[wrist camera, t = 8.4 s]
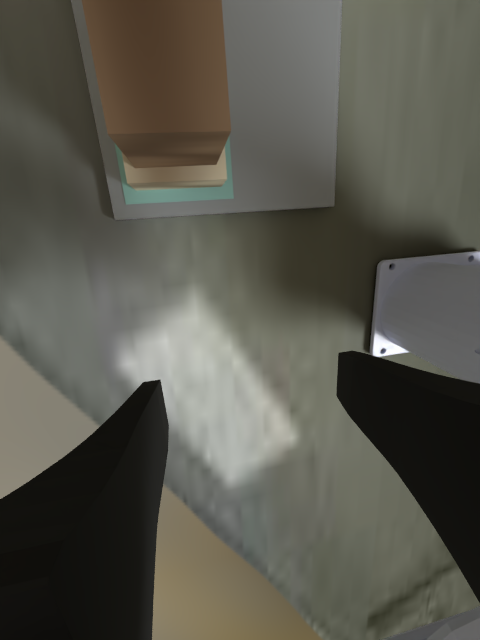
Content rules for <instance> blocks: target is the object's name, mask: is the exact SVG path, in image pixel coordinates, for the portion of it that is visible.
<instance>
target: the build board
mask: <svg viewBox="0 0 480 640" xmlns="http://www.w3.org/2000/svg"><path fill="white" fill-rule="evenodd" d="M71 3H72V8H73V13H74V18H75V23H76V28H77V33H78V38H79V43H80V48H81V53H82V58H83V63H84V68H85V73H86V78H87V83H88V88H89V93H90V98H91V103H92V108H93V113H94V118H95V123H96V128H97V133H98V138H99V143H100V148H101V153H102V158H103V163H104V169H105V174H106V179H107V184H108V189H109V194H110V199H111V204H112V209H113V214H114V219H115V220H133V219H149V218H165V217H180V216H196V215H212V214H228V213H244V212H260V211H276V210H291V209H307V208H323V207H332V206H334V204H335V177H336V150H337V123H338V97H339V70H340V43H341V17H342V0H222V11H223V25H224V39H225V53H226V66H227V80H228V94H229V108H230V121H231V133H230V135H229V137H228V140H227V142H226V144H225V156H226V170H227V180H226V181H225V183H224V184H223V185H222V187H202V188H181V189H160V190H139V191H136V190H135V189H133V188H132V187H131V186H130V185H129V184H127V179H126V173H125V168H124V162H123V157H122V151H121V150H120V149H119V148H118V146H117V145H116V144H115V143H114V141H113V140H112V139H111V138H110V136H109V135H108V133H107V128H106V123H105V117H104V112H103V107H102V102H101V97H100V92H99V87H98V82H97V77H96V71H95V66H94V61H93V56H92V51H91V46H90V41H89V36H88V31H87V25H86V20H85V15H84V10H83V5H82V0H71Z"/></svg>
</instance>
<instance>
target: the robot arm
mask: <svg viewBox="0 0 480 640" xmlns="http://www.w3.org/2000/svg"><path fill="white" fill-rule="evenodd" d="M468 258H469V260H468ZM390 264H391V265H392V266H391V268H390V269H389V265H390ZM381 349H383V350H382V351H381ZM380 351H381V352H380ZM406 352H411V353H412V354H414V355H416V356H418V357H420V358H422V359H424V360H426V361H427V362H429V363H431V364H433V365H435V366H437V367H439V368H440V369H442V370H444V371H446V372H448V373H450V374H452V375H453V376H455V377H457V378H459V379H455V378H450V377H446V376H442V375H438V374H434V373H430V372H426V371H423V370H419V369H415V368H412V367H408V366H405V365H402V364H398V363H395V362H392V361H389V360H385V359H382V358H379V357H381V356H387V355H393V354H400V353H406ZM370 354H371V355H369V354H365V353H361V352H356V351H348V352H341V353H339V356H338V376H337V397H338V399H339V401H340V402H341V404H342V406H343V407H344V409H345V410H346V412H347V413H348V415H349V416H350V417H351V419H352V420H353V421H354V422H355V423H356V425H357V426H358V427H359V428H360V429H361V431H362V432H363V433H364V434H365V435H366V436H367V438H368V439H369V440H370V441H371V442H372V443H373V444H374V446H375V447H376V448H377V449H378V450H379V451H380V453H381V454H382V455H383V456H384V457H385V458H386V460H387V461H388V462H389V463H390V465H391V466H392V467H393V468H394V470H395V471H396V472H397V473H398V475H399V476H400V478H401V479H402V481H403V482H404V483H405V485H406V486H407V488H408V489H409V490H410V492H411V493H412V495H413V496H414V498H415V499H416V501H417V502H418V504H419V505H420V507H421V508H422V510H423V511H424V513H425V514H426V516H427V517H428V519H429V520H430V522H431V523H432V525H433V526H434V528H435V529H436V531H437V533H438V534H439V536H440V537H441V539H442V541H443V542H444V544H445V545H446V547H447V549H448V550H449V552H450V553H451V555H452V557H453V558H454V560H455V561H456V563H457V565H458V566H459V568H460V570H461V571H462V573H463V575H464V577H465V578H466V580H467V582H468V584H469V585H470V587H471V589H472V590H473V592H474V594H475V596H476V597H477V599H478V601H479V602H480V251H472V252H462V253H452V254H441V255H431V256H421V257H411V258H400V259H390V260H382V261H381V262H379V264H378V266H377V275H376V286H375V297H374V308H373V320H372V331H371V342H370ZM460 379H461V380H460ZM168 429H169V425H168V419H167V414H166V408H165V403H164V397H163V392H162V386H161V381H160V380H155V381H148V382H143V383H142V384H141V385H140V386H139V387H138V388H137V390H136V391H135V392H134V393H133V394H132V395H131V396H130V397H129V398H128V399H127V400H126V401H125V403H124V404H123V405H122V406H121V407H120V408H119V409H118V410H117V411H116V412H115V413H114V414H113V415H112V416H111V417H110V418H109V419H108V420H107V421H106V422H105V423H103V424H102V425H101V426H100V427H99V428H98V429H97V430H96V431H95V432H94V433H93V434H92V435H90V436H89V437H88V438H87V439H86V440H85V441H83V442H82V443H81V444H80V445H79V446H77V447H76V448H75V449H73V450H72V451H71V452H70V453H69V454H67V455H66V456H65V457H63V458H62V459H60V460H59V461H58V462H56V463H55V464H53V465H52V466H50V467H49V468H48V469H46V470H45V471H43V472H42V473H41V474H39V475H37V476H36V477H35V478H33V479H32V480H30V481H29V482H27V483H26V484H24V485H23V486H21V487H19V488H18V489H16V490H15V491H13V492H11V493H10V494H8V495H7V496H5V497H3V498H2V499H0V640H152V619H153V594H154V573H155V553H156V534H157V523H158V514H159V507H160V500H161V494H162V487H163V480H164V474H165V467H166V460H167V453H168ZM381 640H480V606H478V607H476V608H474V609H472V610H469V611H466V612H463V613H460V614H457V615H454V616H451V617H448V618H445V619H442V620H439V621H436V622H433V623H430V624H427V625H424V626H421V627H418V628H415V629H412V630H409V631H406V632H403V633H399V634H396V635H393V636H390V637H387V638H384V639H381Z"/></svg>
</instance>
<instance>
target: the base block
mask: <svg viewBox="0 0 480 640" xmlns="http://www.w3.org/2000/svg"><path fill="white" fill-rule="evenodd" d="M122 157H123V162H124V168H125V173H126V179H127V184H129V185H130V186H131V187H132V188H133V189H135V190H136V191H139V190H160V189H181V188H202V187H222V185H223V184H224V183H225V181H226V180H227V170H226V156H225V146H224V149H223V151H222V153H221V155H220V158H219V160H218V162H217V165H200V166H177V167H154V168H135V167H134V166H133V165H132V164H131V162H130V161H129V160H128V159H127V157H126V156H125V155H124V154H123V152H122Z"/></svg>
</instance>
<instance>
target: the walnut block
mask: <svg viewBox="0 0 480 640" xmlns="http://www.w3.org/2000/svg"><path fill="white" fill-rule="evenodd" d="M82 5H83V10H84V15H85V20H86V25H87V31H88V36H89V41H90V46H91V51H92V56H93V61H94V66H95V71H96V77H97V82H98V87H99V92H100V97H101V102H102V107H103V112H104V117H105V123H106V128H107V133H108V135H109V136H110V138H111V139H112V140H113V141H114V143H115V144H116V145H117V146H118V148H119V149H120V150H121V151H122V152H123V154H124V155H125V156H126V157H127V159H128V160H129V161H130V162H131V164H132V165H133V166H134V167H135V168H154V167H177V166H200V165H217V162H218V160H219V158H220V155H221V153H222V151H223V149H224V146H225V144H226V142H227V140H228V137H229V135H230V133H231V121H230V108H229V94H228V80H227V66H226V53H225V39H224V25H223V11H222V0H82Z"/></svg>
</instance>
